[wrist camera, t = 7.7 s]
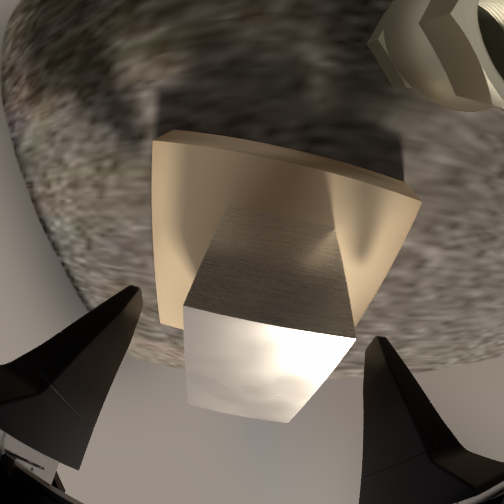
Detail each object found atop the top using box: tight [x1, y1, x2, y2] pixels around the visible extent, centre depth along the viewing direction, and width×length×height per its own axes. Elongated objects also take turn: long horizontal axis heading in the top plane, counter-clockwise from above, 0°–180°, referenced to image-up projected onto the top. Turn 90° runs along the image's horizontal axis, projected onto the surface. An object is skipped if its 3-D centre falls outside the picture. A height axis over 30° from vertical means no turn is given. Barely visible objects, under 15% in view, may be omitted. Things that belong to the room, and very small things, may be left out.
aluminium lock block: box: [183, 205, 356, 423], centre depth 10 cm, size 4×6×5 cm, turn 170°
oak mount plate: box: [152, 130, 422, 330], centre depth 12 cm, size 10×10×2 cm
